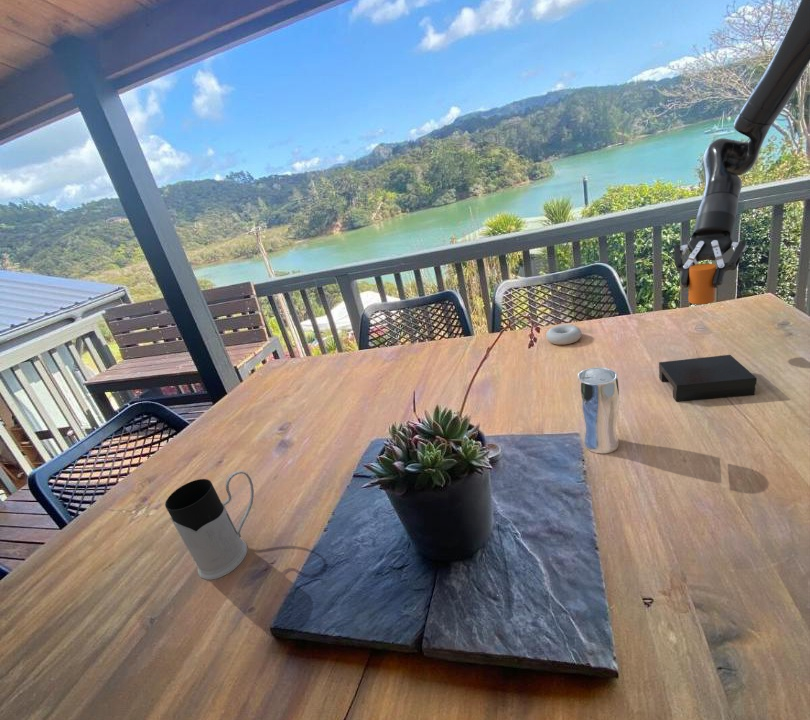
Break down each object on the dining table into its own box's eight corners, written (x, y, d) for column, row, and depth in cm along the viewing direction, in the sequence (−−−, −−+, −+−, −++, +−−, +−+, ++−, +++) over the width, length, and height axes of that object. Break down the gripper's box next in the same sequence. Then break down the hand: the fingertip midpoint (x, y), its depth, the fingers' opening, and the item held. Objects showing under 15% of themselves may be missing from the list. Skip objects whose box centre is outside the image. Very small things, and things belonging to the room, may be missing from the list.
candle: (709, 295, 101) (710, 262, 98) (718, 302, 97) (720, 267, 94) (685, 299, 103) (685, 266, 100) (693, 305, 98) (694, 271, 95)
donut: (545, 335, 135) (547, 348, 127) (544, 325, 134) (546, 337, 125) (579, 331, 132) (584, 344, 124) (579, 321, 131) (583, 333, 122)
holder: (191, 563, 79) (154, 500, 73) (260, 514, 87) (232, 453, 81) (208, 588, 72) (170, 521, 67) (281, 533, 81) (253, 468, 75)
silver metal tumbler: (585, 431, 88) (580, 365, 82) (623, 436, 84) (621, 367, 78) (578, 452, 83) (572, 383, 77) (618, 458, 79) (616, 386, 73)
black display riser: (728, 370, 96) (730, 354, 95) (755, 395, 86) (756, 377, 85) (658, 377, 100) (658, 362, 98) (676, 402, 90) (676, 385, 89)
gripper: (676, 213, 102) (660, 278, 99) (753, 205, 92) (738, 278, 89) (682, 230, 107) (667, 293, 105) (756, 224, 97) (741, 294, 95)
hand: (700, 285), depth 97 cm, fingers closed on candle, 5 cm apart
